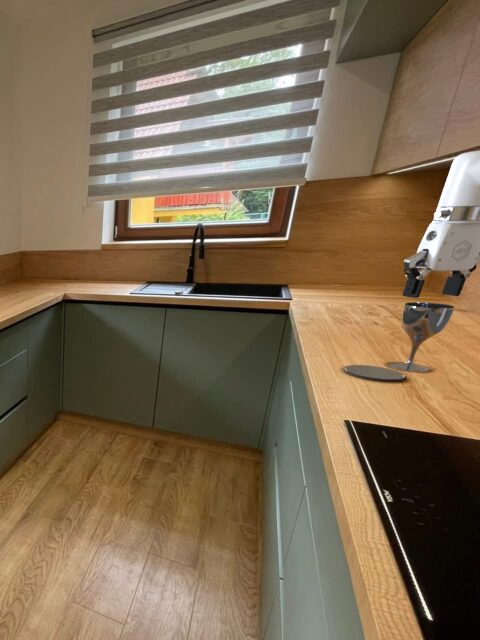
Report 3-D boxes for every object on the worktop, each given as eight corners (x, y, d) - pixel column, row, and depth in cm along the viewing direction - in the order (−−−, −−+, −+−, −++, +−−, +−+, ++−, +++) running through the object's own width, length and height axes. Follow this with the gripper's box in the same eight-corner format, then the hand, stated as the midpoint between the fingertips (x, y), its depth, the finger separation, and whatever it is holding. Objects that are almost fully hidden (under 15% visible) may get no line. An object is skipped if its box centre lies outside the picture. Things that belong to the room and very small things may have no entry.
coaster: (372, 366, 105) (373, 363, 105) (417, 380, 95) (418, 377, 95) (332, 368, 104) (333, 366, 104) (373, 383, 95) (373, 380, 94)
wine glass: (378, 361, 108) (396, 302, 102) (415, 362, 106) (436, 302, 101) (400, 372, 100) (421, 308, 95) (441, 372, 99) (465, 308, 93)
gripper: (440, 217, 87) (411, 300, 93) (519, 214, 88) (485, 297, 94) (403, 217, 94) (378, 295, 100) (476, 214, 95) (447, 291, 101)
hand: (430, 296), depth 97 cm, fingers open, 9 cm apart
